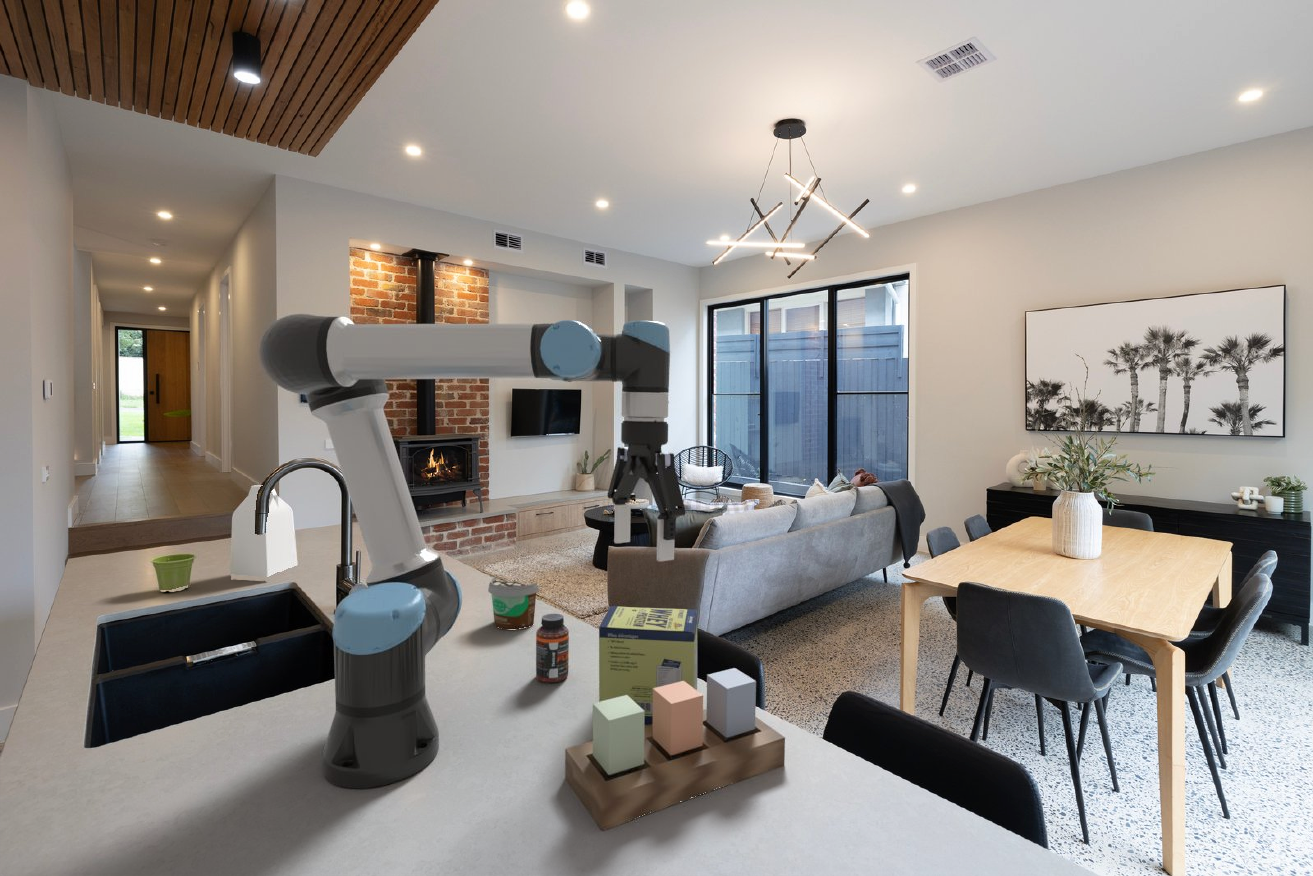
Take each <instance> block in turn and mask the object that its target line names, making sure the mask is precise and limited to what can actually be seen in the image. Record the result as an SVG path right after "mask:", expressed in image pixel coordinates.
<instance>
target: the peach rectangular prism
mask: <svg viewBox="0 0 1313 876" xmlns="http://www.w3.org/2000/svg"><path fill="white" fill-rule="evenodd" d="M703 710H704V695H703V694H702V693H701V692H700V691H698V689H697V690H695V689H694V688H693V687H691V686H690V685H689V684H687V683H686V682H685V681H680V682H676V683H672V684H668V685H664V686H660V687H656V688H653V737H652V738H653V739H654V740H656V741H657V742H658V743H659V744H660V745H661V746H662V747H663V748H664V749H665V750H666V751H667V752H668V753H669V754H670V755H674V754H677V753H681V752H684V751H687V750H690V749H693V748H696V747H700V746H703Z"/></svg>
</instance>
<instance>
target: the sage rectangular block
mask: <svg viewBox="0 0 1313 876" xmlns="http://www.w3.org/2000/svg"><path fill="white" fill-rule="evenodd" d="M644 713H645V711H644V710H643V709H642V708H641V707H640V706H638V705H637V704H636V703H635V702H634V701H633V700H632V699H631V698H630V697H629V696H628V695H624V696H620V697H617V698H613V699H609V700H605V701H601V702H599V701H597V702H593V703H592V741H593V756H594V757H595V759H596V760H597V761H598V762H599V764H600V765H601V766H602V767H603V769H604V770H605V771H606V772H607V774H608V775H611V774H614V773H617V772H620V771H624V770H627V769H630V768H633V767H636V766H639V765H643V764H644V726H645V725H644Z"/></svg>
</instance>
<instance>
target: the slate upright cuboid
mask: <svg viewBox="0 0 1313 876" xmlns="http://www.w3.org/2000/svg"><path fill="white" fill-rule="evenodd" d="M756 693H757V681H756V679H753V678H752V677H750V676H749V675H747V674H745V673H744V672H742V670H741V671H740V670H739V669H737V668H735V667H733V668H729V669H725V670H721V671H717V672H713V673H710V674H709V673H708V674H706V709H707V716H706V722H707V723H709V724H710V725H711V726H712V727H714V728H715V729H716V730H717V731H719V732H720V733H721V734H722V735H724V736H725V737H726V738H728V737H731V736H734V735H737V734H741V733H744V732H747V731H750V730H753V729H755V717H756V701H757V700H756V699H757V697H756V696H757V694H756Z"/></svg>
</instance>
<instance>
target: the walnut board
mask: <svg viewBox="0 0 1313 876" xmlns="http://www.w3.org/2000/svg"><path fill="white" fill-rule="evenodd" d="M706 716H707V708H703V746H700V747H696V748H693V749H690V750H687V751H684V752H681V753H677V754H674V755H670V754H669V753H668V752H667V751H666V750H665V749H664V748H663V747H662V746H661V745H660V744H659V743H658V742H657V741H656V740H654V739H653V738H652V737H653V724H651V725H644V764H643V765H639V766H636V767H633V768H630V769H627V770H624V771H620V772H617V773H614V774H611V775H608V774H607V772H606V771H605V770H604V769H603V767H602V766H601V765H600V764H599V762H598V761H597V760H596V759H595V757H594V756H593V740H592V741H587V742H583V743H581V744H576V745H573V746H570V747H566V748H564V750H565V751H564V754H565V755H564V756H565V758H564V769H565V770H564V778H565V779H566V780H567V782H568V784H569V785H570V787H571V789H572V790H573V791H574V793H575V794H576V795H577V797H578V799H579V800H580V801H581V802H582V804H583V806H584V807H585V809H586V810H587V812H588V813H589V814H590V815H592V816H591V818H592V819H593V820H594V822H595V823H596V825H597V824H598V825H599V826H598V825H597V826H598V828H599V827H600V828H599V829H600V830H602V831H601V832H604V831H606V830H605V829H607V830H608V829H611V828H615V827H618V826H620V825H623V824H625V823H628V822H627V821H629V820H631V819H634V820H636V819H635V818H637V817H639V816H642V815H644V814H645V816H647V815H646V814H648V813H650V812H653V811H656V810H659V811H661V809H662V810H664V809H663V808H665V809H667V808H669V807H668V806H670V807H672V806H671V805H673V804H676V803H678V802H680V801H684V800H687V799H689V798H691V797H695V796H698V795H700V794H703V793H705V792H709V791H711V792H713V791H712V790H714V789H716V788H719V787H723V786H725V787H727V786H726V785H728V784H731V783H734V784H736V783H739V782H742V781H744V780H743V779H745V780H747V779H750V778H753V777H755V776H758V775H760V774H761V775H762V774H764V773H767V772H769V771H771V770H774V769H777V768H780V767H783V766H785V762H786V761H785V760H786V759H785V757H786V756H785V752H786V751H785V750H786V747H785V746H786V737H785V736H784V735H783V734H781V733H780V732H779V731H777V730H776V729H774V728H773V727H771V726H770V725H768V724H767V723H766V722H764V721H762V720H761V719H760V718H758V717H757V716H755V729H753V730H750V731H747V732H744V733H741V734H737V735H734V736H731V737H728V738H726V737H725V736H724V735H722V734H721V733H720V732H719V731H717V730H716V729H715V728H714V727H712V726H711V725H710V724H709V723H707V722H706ZM733 738H735V739H734V740H731V739H733ZM727 740H730V741H728V742H725V741H727ZM680 754H681V755H683V754H684V755H685V756H681V755H680ZM676 755H677V756H680V757H678V758H675V759H671V758H674V757H677V756H676ZM673 756H674V757H673ZM668 759H671V760H668ZM627 772H629V773H627ZM623 773H627V774H625V775H621V776H618V777H615V778H612V779H609V780H607V781H606V780H605V779H608V778H611V777H613V776H617V775H620V774H623ZM741 780H742V781H741ZM738 781H739V782H738ZM731 785H732V784H731ZM728 786H729V785H728ZM723 788H724V787H723ZM714 791H715V790H714ZM709 793H710V792H709ZM703 795H704V794H703ZM700 796H701V795H700ZM698 797H699V796H698ZM695 798H696V797H695ZM689 800H690V799H689ZM687 801H688V800H687ZM684 802H685V801H684ZM678 804H679V803H678ZM676 805H677V804H676ZM673 806H674V805H673ZM666 807H667V808H666ZM656 812H657V811H656ZM648 815H649V814H648ZM642 817H643V816H642ZM637 819H638V818H637ZM631 821H632V820H631ZM629 822H630V821H629ZM617 825H618V826H617ZM603 830H604V831H603Z"/></svg>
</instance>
